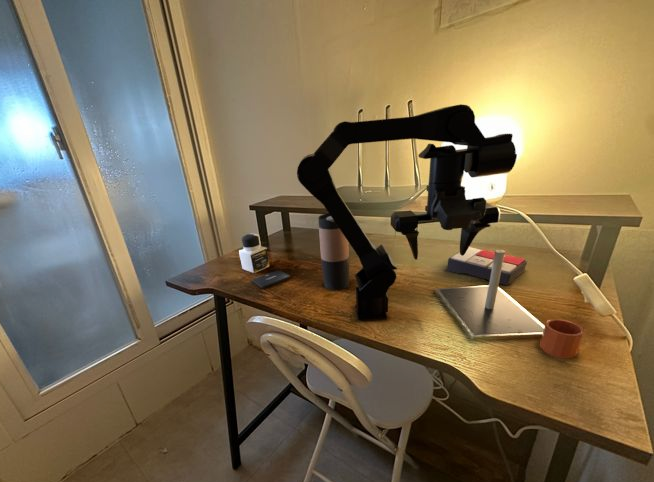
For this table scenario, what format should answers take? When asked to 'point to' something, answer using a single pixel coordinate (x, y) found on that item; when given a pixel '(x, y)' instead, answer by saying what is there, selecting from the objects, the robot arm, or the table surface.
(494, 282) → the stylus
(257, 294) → the table surface
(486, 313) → the tablet
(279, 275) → the solid state drive
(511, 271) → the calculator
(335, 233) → the travel mug
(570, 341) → the pen pot
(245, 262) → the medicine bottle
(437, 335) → the table surface
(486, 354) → the table surface
